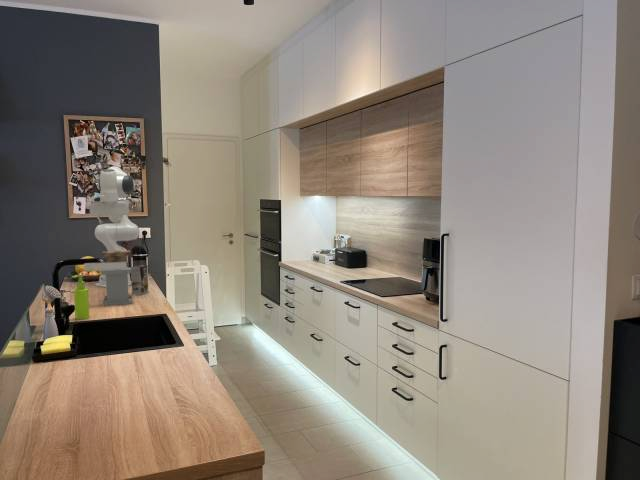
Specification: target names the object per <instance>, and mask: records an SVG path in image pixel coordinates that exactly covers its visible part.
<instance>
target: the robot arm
mask: <svg viewBox="0 0 640 480" xmlns="http://www.w3.org/2000/svg"><path fill="white" fill-rule="evenodd" d="M135 188H136V183H135V179H134V178H133V176H131V175H130V174H129V173H127V172H125V171H123V170H122V168H121V167H119V166H117V165H116V166H114V165H113V166H110V167H108V168H104V169H102V170H100V173H99V179H98V182H97V189H99V192H100V195H97V196H96V197H93V198H91V201H92V202H91V203H90V205H89V215H90V216H92V217H93V216H96V218H97V220H98V221H99V222H98V223H99V224H98V225H97V226H96V227H95V230H94V237H95V238H96V240H98V241H99V242H101V243H102V244H103V246H105V248H106V251H128V250H127V249H126V248H125V247H123V246H121V245H119V244H118V243H117V242H125V241H127V242H129V241H134V240H137V239H138V238H139V236H140V227H139V226H138V225H137V224H135V223H133V222H132V221H131V220H130V219H129V217H128V215H130V208H129V207H130V200H129V199H127V198H126V197H127V196H128V197H129V196H130V195H131V194H133V192H134V191H135ZM101 216H107V217H108V220H110V221H111V222H112V223H103V220H101ZM127 268H130V263H129V256H127ZM130 274H131V273H128V287H129V286H132V279H131V275H130ZM94 286H96V287H100V288H106V275H101V274H100V275H99V279H98V282H97V283H95V285H94Z"/></svg>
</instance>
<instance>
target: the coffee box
mask: <svg viewBox="0 0 640 480" xmlns="http://www.w3.org/2000/svg"><path fill="white" fill-rule="evenodd" d="M148 267H149V266H148V264H139V265H138V264H136V265H133V266H131V267H130V268H131V273H130V274H131V282H132V283H131V284H132V285H131V294H132V296H144V295H145V294H147V293H149V274H148V273H149V272H148V271H149V268H148Z"/></svg>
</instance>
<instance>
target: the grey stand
mask: <svg viewBox="0 0 640 480" xmlns="http://www.w3.org/2000/svg"><path fill="white" fill-rule="evenodd" d="M128 273H130V274H131V267H129V268H127V269H121V270H101V274H100V275H106V287H105V288H106V296H107V300H104V299H103V300H102V306H103V307H109V306H120V305H123V306H124V305H133V297H132V298H128V295H129V286H128V284H127V274H128Z"/></svg>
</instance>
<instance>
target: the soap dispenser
mask: <svg viewBox="0 0 640 480" xmlns="http://www.w3.org/2000/svg"><path fill="white" fill-rule="evenodd" d="M83 277H85V274H75V275H72V276H71V278H72V279H73V278H74V279H77V278H78V280H77V282H76V288H75V289H74V290H73V297H74V298H73V300H74V301H73V302H74V318H75V319H76V320H84V319H85V320H86V319H88V318H90V303H89V302H90V301H89V298H90V297H89V289H88V288H86V282H85V281H83Z"/></svg>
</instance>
